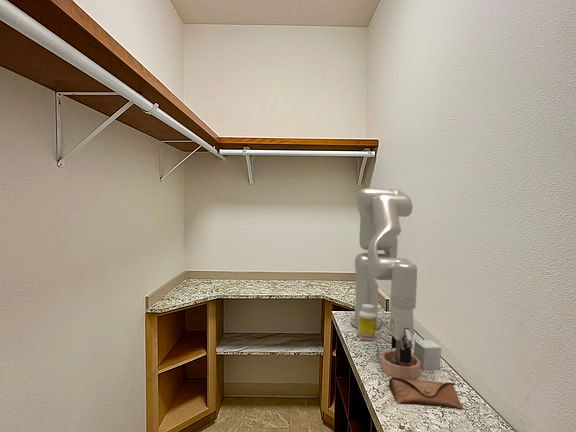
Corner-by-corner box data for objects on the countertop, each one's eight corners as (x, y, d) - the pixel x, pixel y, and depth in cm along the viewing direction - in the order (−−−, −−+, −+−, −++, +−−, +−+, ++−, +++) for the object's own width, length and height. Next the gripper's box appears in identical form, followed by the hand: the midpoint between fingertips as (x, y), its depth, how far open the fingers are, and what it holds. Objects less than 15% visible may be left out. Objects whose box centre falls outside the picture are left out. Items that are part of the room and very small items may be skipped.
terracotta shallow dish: (377, 360, 112) (377, 349, 112) (412, 362, 111) (413, 351, 111) (385, 378, 100) (386, 366, 100) (425, 380, 99) (425, 368, 99)
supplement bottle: (375, 342, 127) (377, 308, 127) (358, 340, 128) (359, 307, 128) (374, 335, 133) (376, 303, 133) (358, 333, 135) (359, 302, 134)
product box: (412, 361, 112) (413, 340, 112) (429, 360, 113) (430, 339, 113) (423, 370, 106) (424, 347, 106) (440, 369, 107) (441, 347, 107)
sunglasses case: (395, 404, 87) (393, 376, 90) (389, 404, 93) (388, 377, 96) (466, 410, 85) (462, 381, 89) (456, 409, 92) (452, 382, 95)
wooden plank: (395, 364, 108) (396, 334, 107) (401, 365, 108) (402, 334, 107) (398, 371, 104) (399, 339, 103) (405, 371, 104) (406, 339, 103)
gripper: (384, 293, 114) (382, 342, 114) (398, 309, 96) (395, 367, 97) (406, 294, 113) (404, 344, 114) (424, 310, 96) (422, 368, 97)
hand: (400, 354), depth 105 cm, fingers open, 9 cm apart
